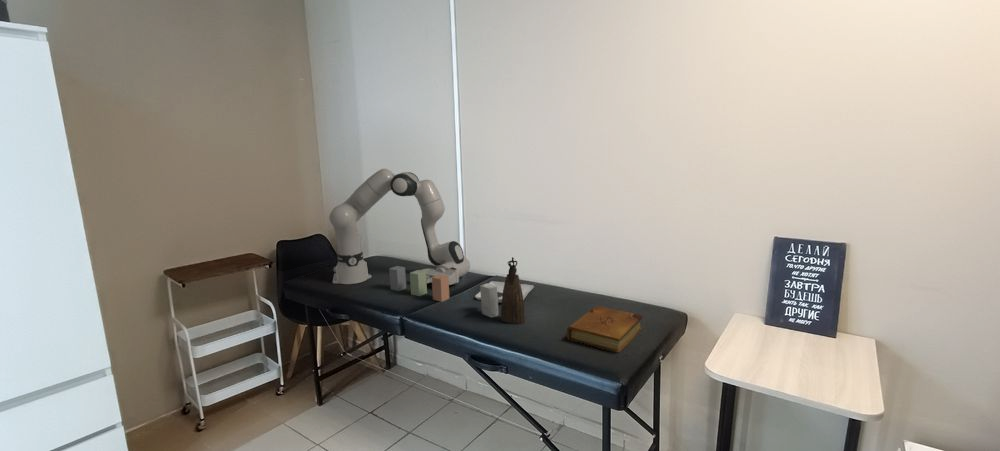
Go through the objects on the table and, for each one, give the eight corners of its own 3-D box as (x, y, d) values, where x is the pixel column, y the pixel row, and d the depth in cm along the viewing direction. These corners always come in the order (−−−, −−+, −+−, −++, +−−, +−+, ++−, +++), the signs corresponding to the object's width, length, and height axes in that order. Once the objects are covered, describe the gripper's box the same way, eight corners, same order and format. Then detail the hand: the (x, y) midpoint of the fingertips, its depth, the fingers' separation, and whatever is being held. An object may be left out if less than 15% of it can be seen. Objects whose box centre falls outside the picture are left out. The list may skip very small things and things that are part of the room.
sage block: (418, 291, 211) (417, 270, 209) (427, 293, 209) (425, 271, 207) (411, 294, 207) (409, 272, 205) (419, 296, 205) (418, 274, 203)
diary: (594, 319, 180) (594, 305, 179) (642, 330, 170) (642, 315, 169) (567, 341, 162) (567, 325, 161) (618, 354, 151) (619, 338, 150)
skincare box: (499, 315, 185) (498, 286, 182) (490, 318, 182) (489, 288, 180) (489, 311, 189) (488, 282, 187) (480, 313, 187) (479, 285, 184)
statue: (521, 315, 184) (520, 255, 178) (526, 323, 177) (525, 261, 170) (499, 318, 182) (498, 257, 176) (504, 326, 175) (502, 263, 169)
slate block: (398, 286, 219) (397, 265, 217) (406, 288, 216) (404, 267, 214) (390, 289, 215) (389, 268, 213) (398, 291, 212) (396, 270, 210)
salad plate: (521, 308, 192) (521, 300, 192) (474, 303, 199) (473, 296, 198) (534, 291, 212) (534, 284, 211) (491, 287, 219) (490, 280, 218)
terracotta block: (440, 296, 204) (439, 274, 202) (449, 298, 201) (448, 276, 199) (432, 299, 200) (431, 277, 198) (441, 301, 197) (440, 279, 195)
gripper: (428, 263, 227) (407, 271, 215) (460, 270, 215) (441, 277, 204) (428, 276, 228) (408, 284, 217) (461, 283, 216) (441, 291, 205)
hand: (424, 281), depth 210 cm, fingers closed
